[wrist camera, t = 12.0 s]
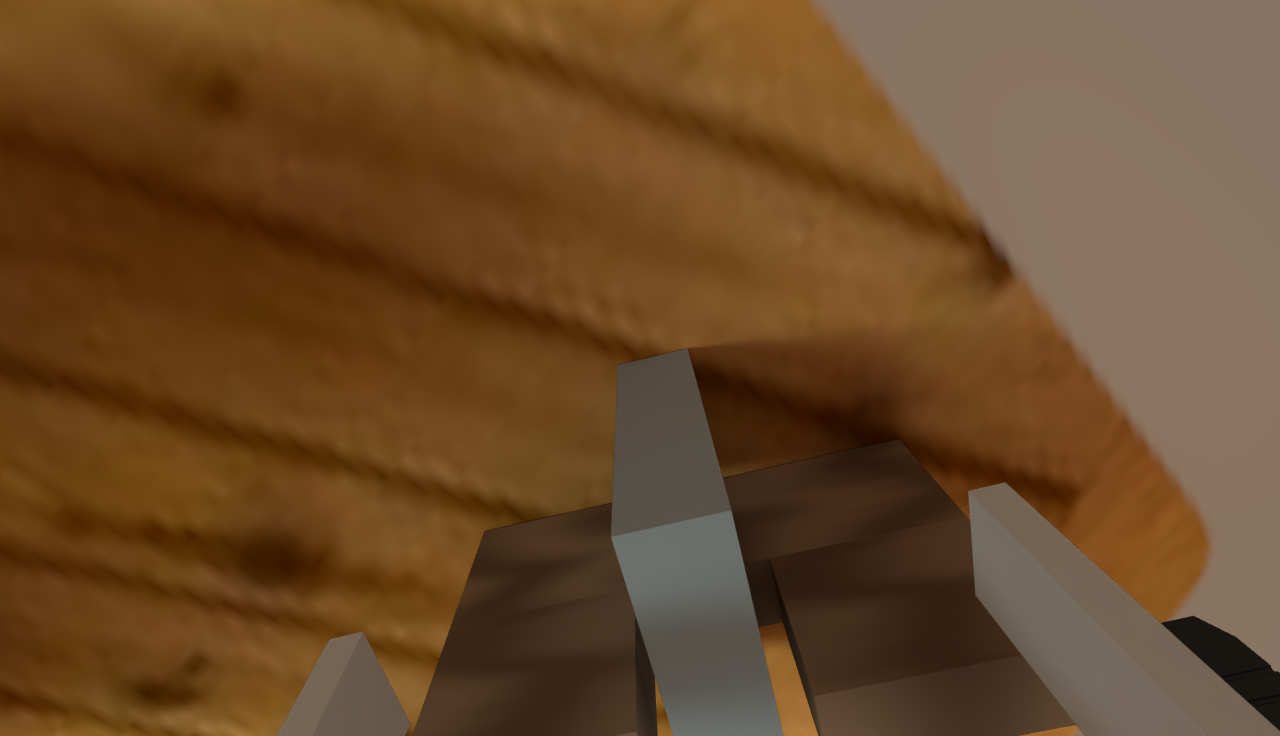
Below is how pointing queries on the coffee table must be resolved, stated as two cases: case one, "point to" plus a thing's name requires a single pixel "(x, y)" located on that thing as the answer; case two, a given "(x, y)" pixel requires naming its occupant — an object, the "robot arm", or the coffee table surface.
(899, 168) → the coffee table surface
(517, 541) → the base plank
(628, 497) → the cross plank
